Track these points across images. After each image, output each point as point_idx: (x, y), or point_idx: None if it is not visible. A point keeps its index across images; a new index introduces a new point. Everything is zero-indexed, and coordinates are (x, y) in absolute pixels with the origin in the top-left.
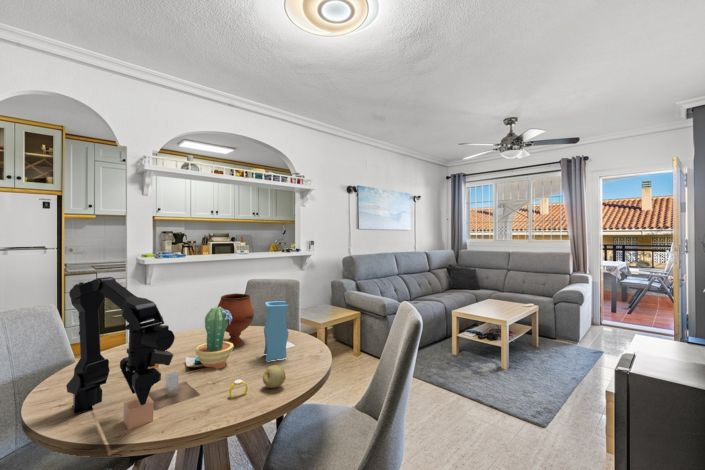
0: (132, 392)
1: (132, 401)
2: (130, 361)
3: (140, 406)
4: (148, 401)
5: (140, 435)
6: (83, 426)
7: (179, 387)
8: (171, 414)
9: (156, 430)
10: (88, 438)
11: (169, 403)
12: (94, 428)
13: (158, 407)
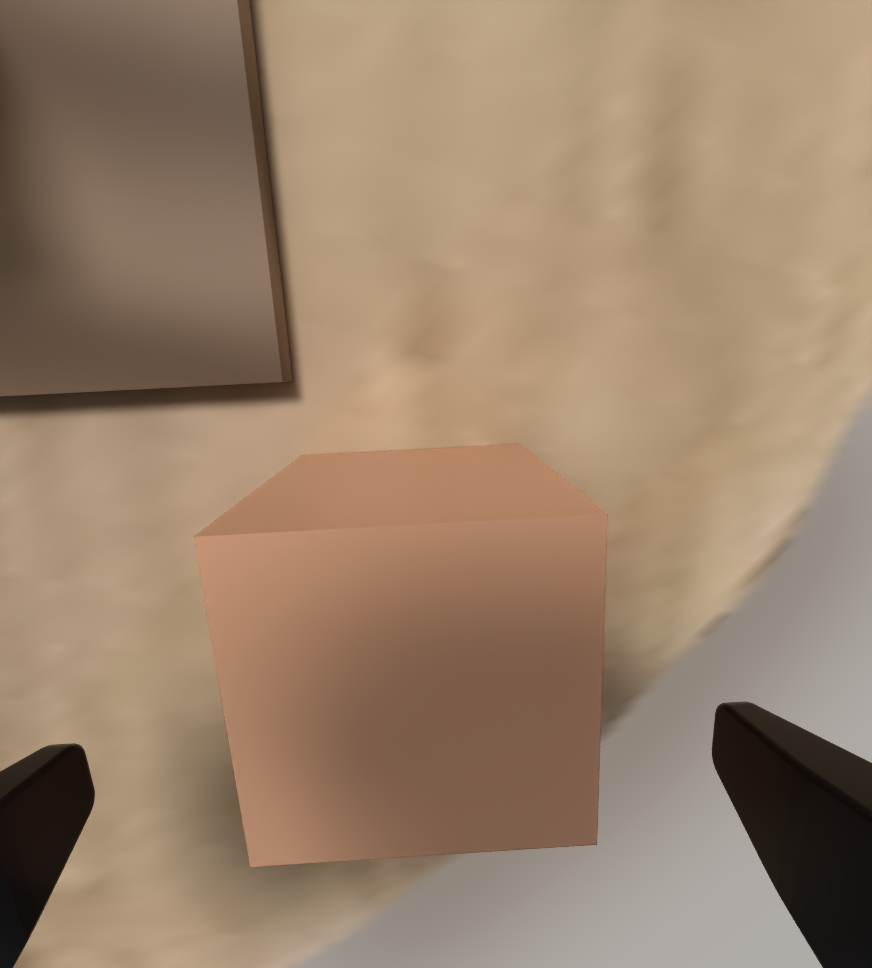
0: (78, 830)
1: (332, 776)
2: None
3: (597, 702)
4: (525, 581)
5: (637, 569)
6: (150, 879)
7: None
8: (440, 225)
9: (662, 441)
10: (382, 861)
11: (200, 173)
12: (241, 824)
13: (231, 324)
